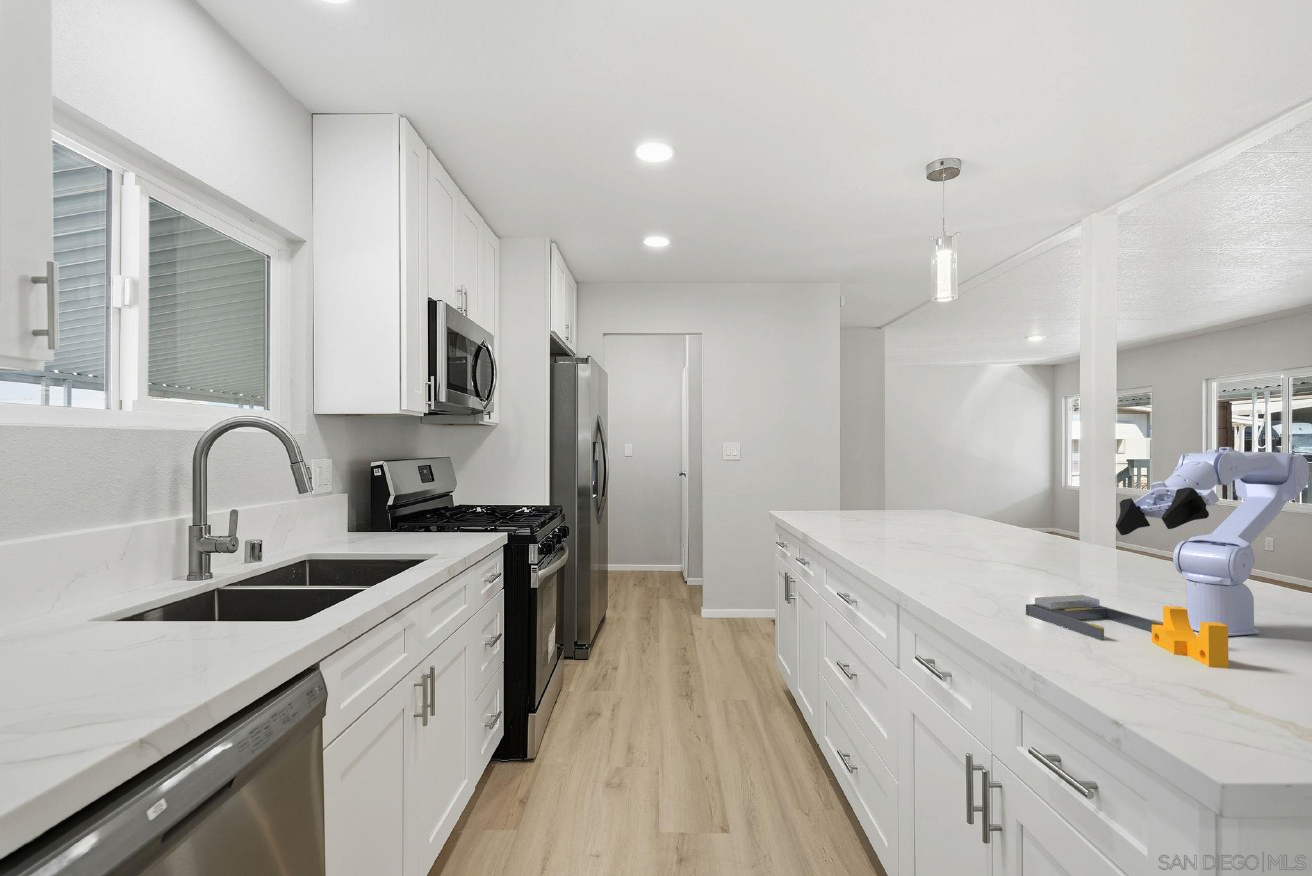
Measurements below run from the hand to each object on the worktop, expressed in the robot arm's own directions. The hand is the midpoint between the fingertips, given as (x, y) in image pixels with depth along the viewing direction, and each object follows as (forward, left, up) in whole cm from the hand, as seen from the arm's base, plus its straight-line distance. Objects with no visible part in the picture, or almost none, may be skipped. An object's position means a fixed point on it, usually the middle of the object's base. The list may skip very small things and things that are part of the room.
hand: (1142, 526), depth 108 cm
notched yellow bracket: (-4, +4, -20) cm, 21 cm away
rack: (-4, -14, -20) cm, 25 cm away
